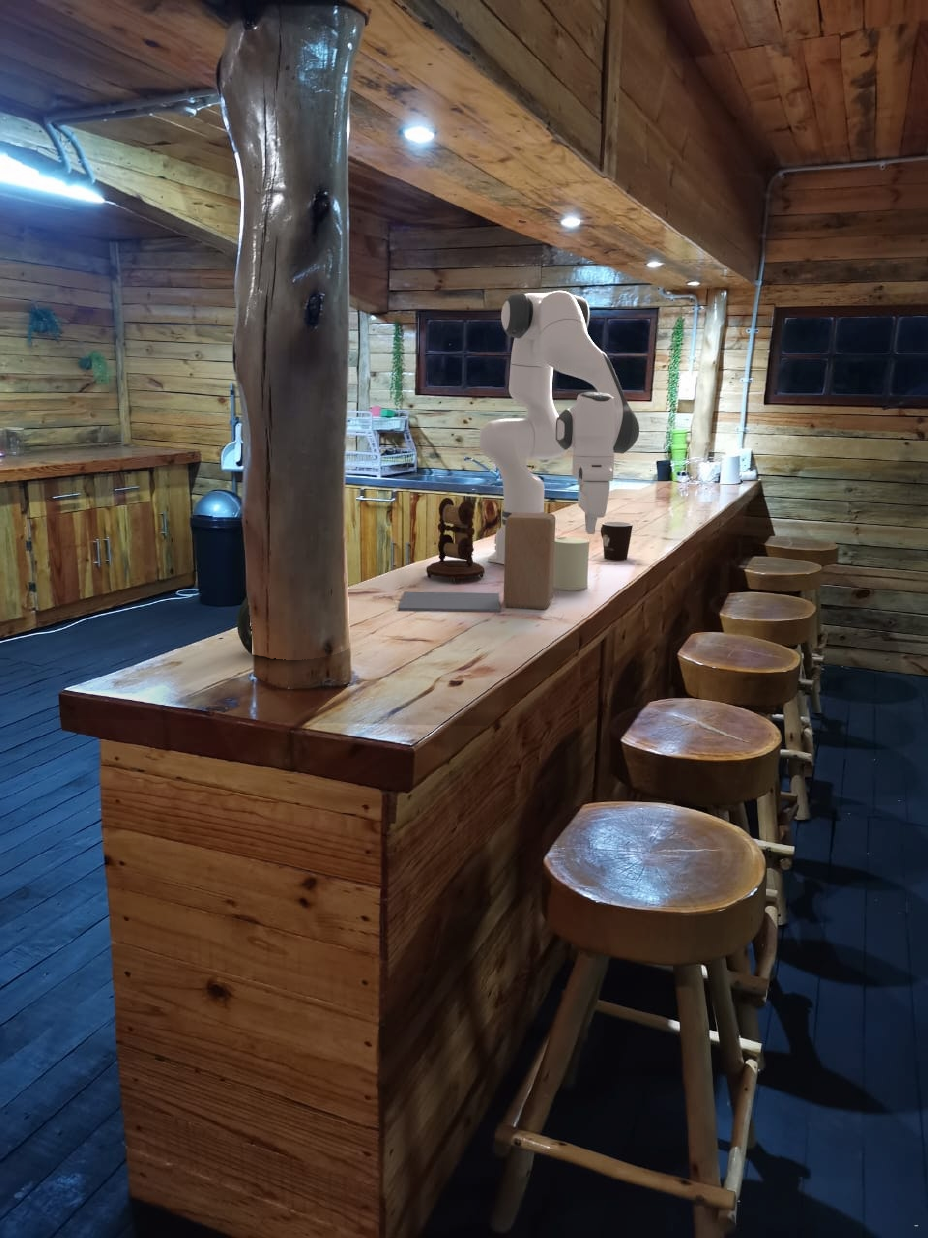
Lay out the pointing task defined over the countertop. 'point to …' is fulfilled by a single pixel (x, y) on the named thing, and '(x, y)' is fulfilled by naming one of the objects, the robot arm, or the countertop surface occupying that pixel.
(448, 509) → the wooden spool stand
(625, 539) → the coffee mug
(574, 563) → the can
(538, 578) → the block
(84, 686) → the countertop surface
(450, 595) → the mat
